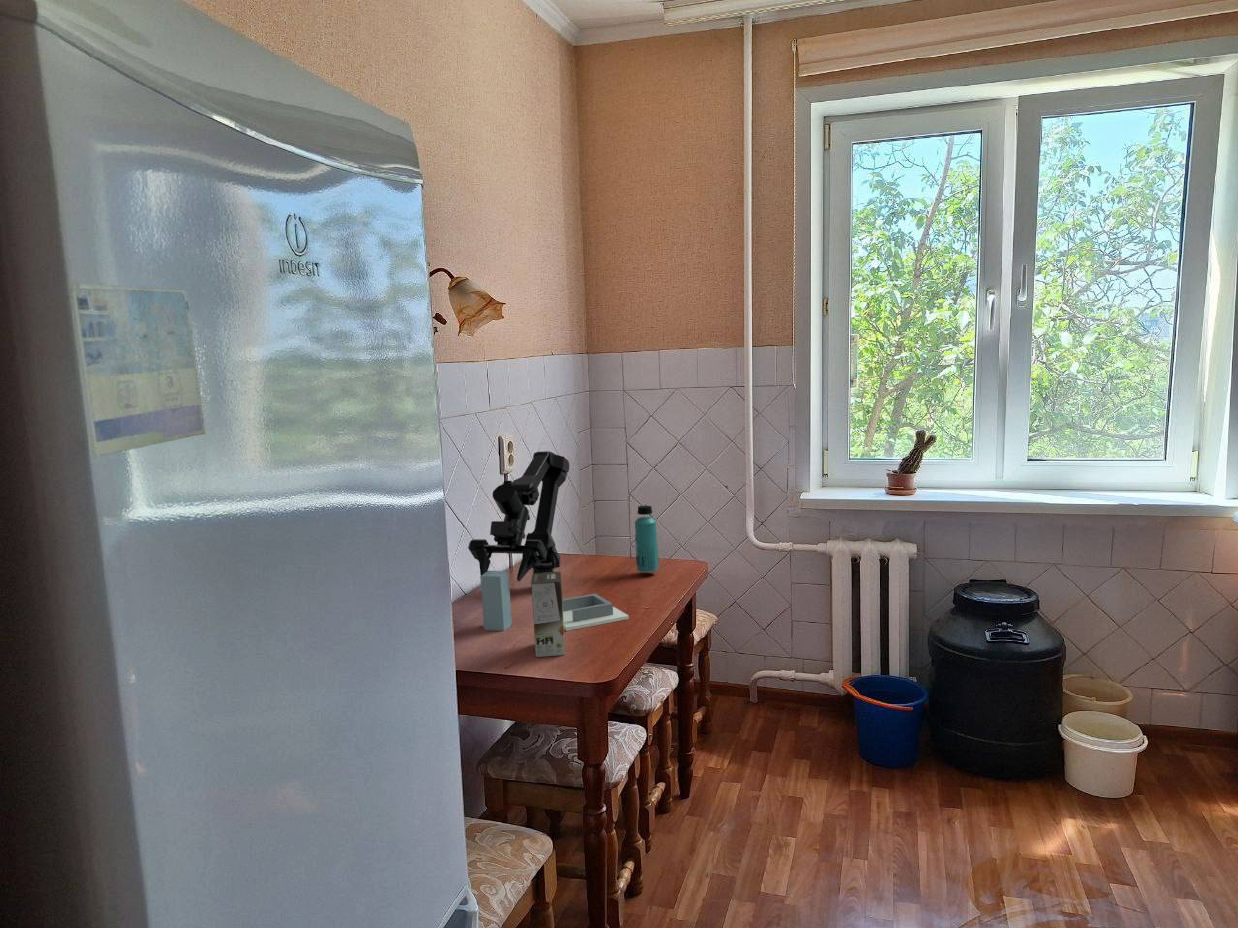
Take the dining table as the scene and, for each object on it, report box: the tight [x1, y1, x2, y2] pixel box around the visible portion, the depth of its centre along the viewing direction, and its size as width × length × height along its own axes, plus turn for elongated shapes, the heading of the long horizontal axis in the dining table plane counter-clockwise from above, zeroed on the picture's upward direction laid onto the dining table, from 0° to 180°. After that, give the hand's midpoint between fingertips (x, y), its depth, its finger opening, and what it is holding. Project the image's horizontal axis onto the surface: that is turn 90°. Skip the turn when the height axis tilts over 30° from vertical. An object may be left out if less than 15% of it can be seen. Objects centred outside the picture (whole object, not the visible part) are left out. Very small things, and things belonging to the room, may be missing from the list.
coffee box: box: [530, 571, 565, 658], centre depth 178 cm, size 9×6×16 cm
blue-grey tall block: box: [479, 570, 513, 632], centre depth 195 cm, size 5×5×13 cm
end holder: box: [562, 593, 630, 632], centre depth 201 cm, size 16×16×4 cm
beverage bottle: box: [634, 505, 660, 573], centre depth 235 cm, size 6×7×20 cm
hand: (500, 580), depth 198 cm, fingers open, 9 cm apart
